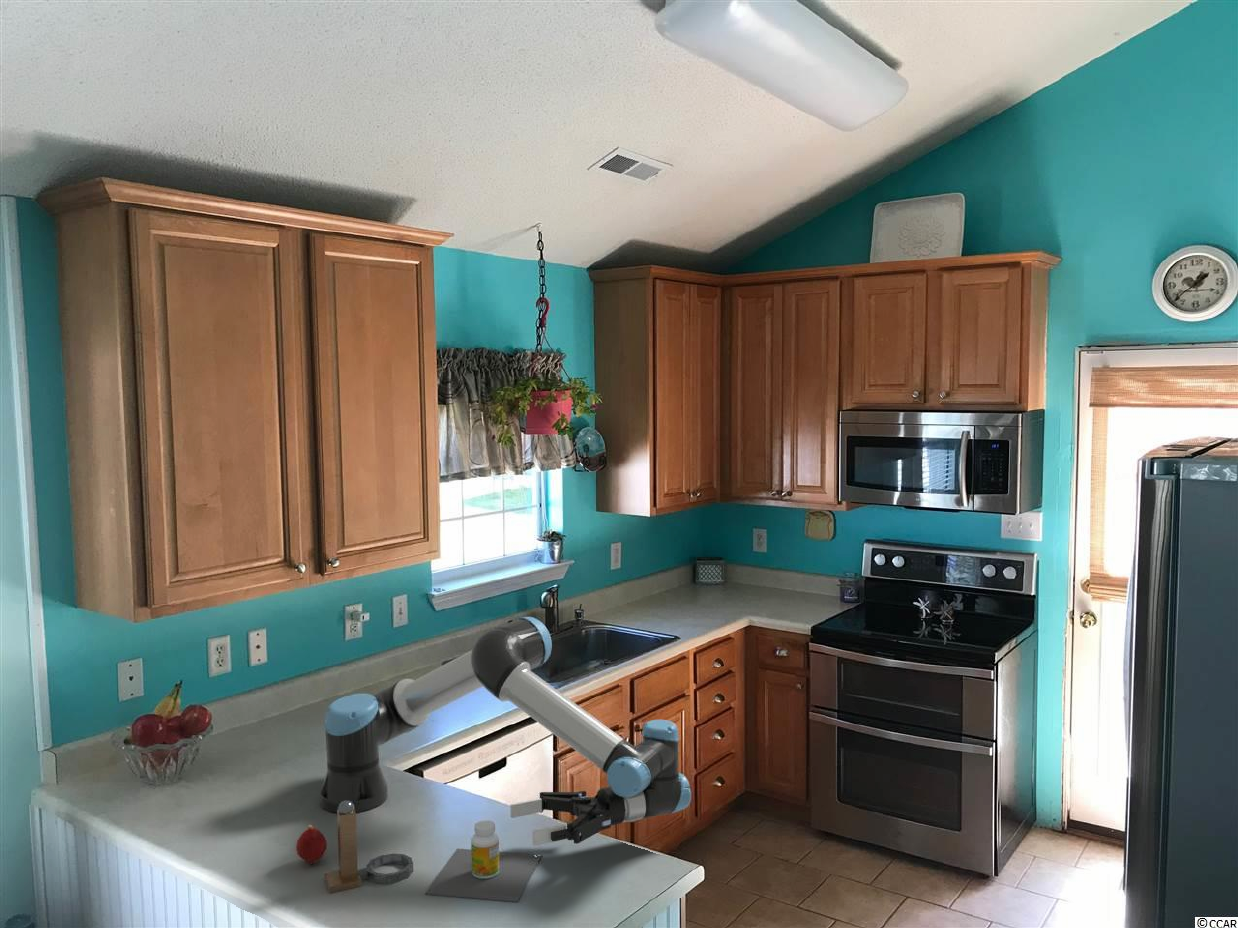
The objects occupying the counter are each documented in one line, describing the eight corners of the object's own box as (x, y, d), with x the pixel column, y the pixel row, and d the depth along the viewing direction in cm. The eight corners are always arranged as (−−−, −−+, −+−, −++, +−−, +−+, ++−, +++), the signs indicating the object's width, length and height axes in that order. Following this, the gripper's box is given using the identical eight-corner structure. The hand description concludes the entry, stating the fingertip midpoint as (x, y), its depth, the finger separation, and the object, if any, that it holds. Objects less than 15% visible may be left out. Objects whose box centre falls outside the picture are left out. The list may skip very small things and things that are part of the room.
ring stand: (345, 857, 198) (342, 780, 197) (419, 863, 195) (417, 785, 194) (312, 891, 185) (309, 809, 183) (392, 898, 182) (389, 815, 181)
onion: (330, 856, 199) (329, 818, 198) (322, 869, 193) (321, 830, 192) (301, 856, 198) (300, 818, 198) (293, 870, 193) (291, 831, 192)
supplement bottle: (466, 873, 190) (464, 825, 189) (486, 863, 194) (485, 816, 194) (485, 882, 187) (484, 832, 186) (505, 871, 191) (504, 823, 190)
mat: (457, 849, 201) (457, 848, 201) (541, 856, 198) (541, 854, 198) (425, 894, 183) (425, 892, 183) (517, 902, 180) (517, 900, 180)
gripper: (646, 846, 190) (544, 870, 182) (595, 798, 213) (502, 817, 204) (645, 809, 190) (543, 831, 181) (595, 765, 212) (502, 782, 204)
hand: (521, 824), depth 193 cm, fingers open, 13 cm apart
